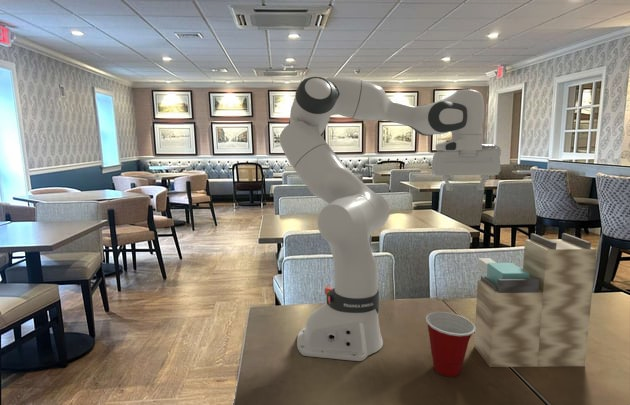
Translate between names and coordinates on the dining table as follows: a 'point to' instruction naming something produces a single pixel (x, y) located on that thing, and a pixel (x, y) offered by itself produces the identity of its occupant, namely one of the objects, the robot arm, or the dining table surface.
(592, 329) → the dining table surface
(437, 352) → the plastic cup
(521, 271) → the plug
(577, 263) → the zigzag stepped block
